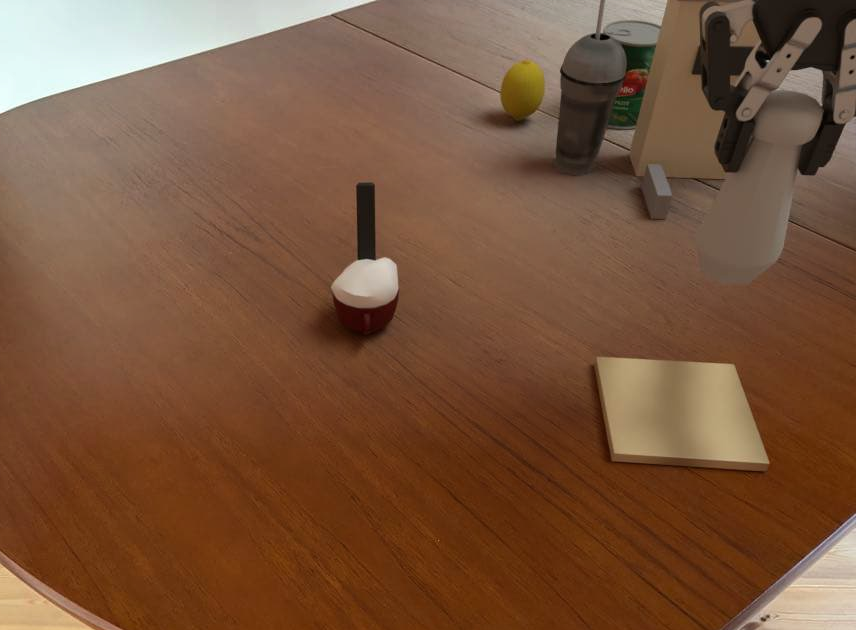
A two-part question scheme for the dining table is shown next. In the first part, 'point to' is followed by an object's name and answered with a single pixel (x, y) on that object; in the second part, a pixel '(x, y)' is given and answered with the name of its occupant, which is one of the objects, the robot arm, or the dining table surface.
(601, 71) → the beverage cup
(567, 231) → the dining table surface
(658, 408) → the plate
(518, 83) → the lemon
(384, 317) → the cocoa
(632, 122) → the canned tomato
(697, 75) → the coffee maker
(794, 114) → the salt shaker
